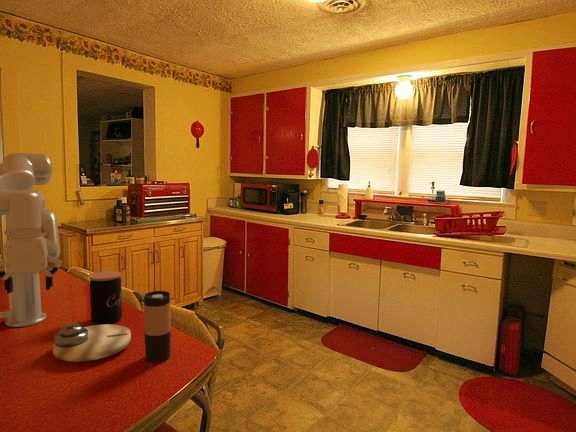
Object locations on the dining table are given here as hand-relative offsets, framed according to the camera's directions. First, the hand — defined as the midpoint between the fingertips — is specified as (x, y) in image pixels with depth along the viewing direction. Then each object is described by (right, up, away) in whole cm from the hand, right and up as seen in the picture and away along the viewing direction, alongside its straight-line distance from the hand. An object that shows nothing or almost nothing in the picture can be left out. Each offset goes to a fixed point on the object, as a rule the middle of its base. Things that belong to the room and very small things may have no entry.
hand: (29, 290), depth 111 cm
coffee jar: (+8, -18, +31) cm, 37 cm away
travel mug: (+37, -22, +4) cm, 43 cm away
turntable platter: (+15, -19, +8) cm, 25 cm away
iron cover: (+9, -17, +6) cm, 20 cm away
